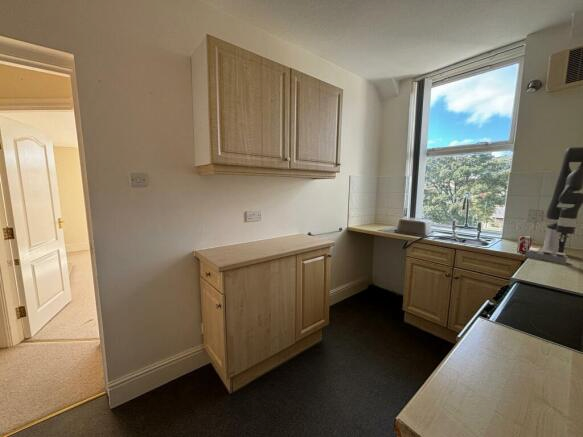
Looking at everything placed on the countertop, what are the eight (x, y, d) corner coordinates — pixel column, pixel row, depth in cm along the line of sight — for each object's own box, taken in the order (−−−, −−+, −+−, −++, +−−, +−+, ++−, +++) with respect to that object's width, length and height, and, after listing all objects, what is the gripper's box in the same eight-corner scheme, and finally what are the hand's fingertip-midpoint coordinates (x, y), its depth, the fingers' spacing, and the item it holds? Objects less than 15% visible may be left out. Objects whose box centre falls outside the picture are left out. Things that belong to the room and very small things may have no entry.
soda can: (523, 251, 177) (526, 235, 175) (532, 254, 170) (535, 237, 168) (513, 251, 177) (516, 235, 175) (521, 253, 171) (524, 237, 169)
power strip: (527, 255, 168) (529, 248, 167) (566, 262, 154) (568, 255, 153) (525, 257, 163) (526, 250, 162) (565, 264, 149) (566, 257, 148)
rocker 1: (531, 247, 166) (531, 246, 165) (539, 248, 163) (539, 247, 162) (528, 250, 162) (529, 249, 162) (537, 252, 159) (537, 250, 159)
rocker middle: (543, 251, 161) (543, 249, 161) (551, 253, 158) (552, 251, 158) (541, 251, 157) (542, 249, 157) (550, 252, 154) (551, 250, 154)
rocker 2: (556, 253, 156) (556, 252, 156) (565, 255, 153) (565, 253, 153) (555, 253, 153) (555, 251, 153) (564, 255, 149) (565, 253, 149)
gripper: (558, 223, 156) (553, 249, 158) (555, 225, 148) (550, 252, 150) (576, 225, 150) (570, 252, 152) (574, 227, 142) (568, 255, 144)
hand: (560, 252), depth 151 cm, fingers closed
